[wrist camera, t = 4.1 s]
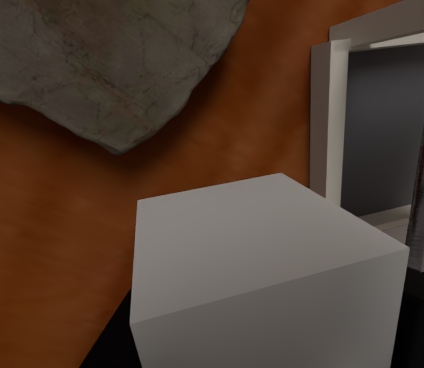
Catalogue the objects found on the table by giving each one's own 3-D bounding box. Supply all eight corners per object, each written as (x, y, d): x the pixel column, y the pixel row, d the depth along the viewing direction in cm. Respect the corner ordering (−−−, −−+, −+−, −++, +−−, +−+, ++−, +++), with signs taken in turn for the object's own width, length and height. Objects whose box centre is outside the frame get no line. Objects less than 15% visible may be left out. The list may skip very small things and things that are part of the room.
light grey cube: (284, 285, 11) (381, 420, 7) (164, 318, 10) (181, 501, 6) (281, 172, 9) (409, 247, 5) (137, 200, 9) (129, 324, 4)
